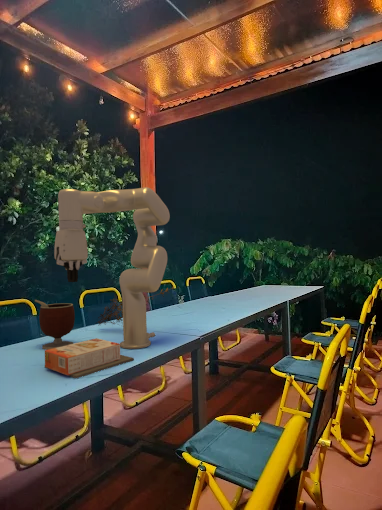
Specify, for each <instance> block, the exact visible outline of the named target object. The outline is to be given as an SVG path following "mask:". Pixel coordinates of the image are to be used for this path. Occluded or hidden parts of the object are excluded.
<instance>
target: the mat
mask: <svg viewBox="0 0 382 510" xmlns="http://www.w3.org/2000/svg"><path fill="white" fill-rule="evenodd" d="M132 361H135V359H134V357H131V356H127V355H123V354H120V360H116V361H113V362H110V363H106V364H103V365H100V366H97V367H93V368H90V369H87V370H83V371H80V372H77V373H74V374H70V375H66V376H67V377H68V376H69V377H71V378H74V379H76V378H77V379H79V377H80V378H83V377H86V376H88V375H89V376H90V375H93V374H95V372H96V373H98V371H99V372H101V370H102V371H104V369H105V370H108V369H111V368H113V367H116V366H117V367H118V366H120V365H124V364H127V363H130V362H132ZM126 362H127V363H126ZM123 363H124V364H123ZM119 364H120V365H119ZM44 368H45V369H49V370H51V371H53V372H57V373H59V374H62V375H64V374H63V373H60V372H58V371H55V370H52V369H50V368H47V367H45V366H44ZM82 376H83V377H82Z"/></svg>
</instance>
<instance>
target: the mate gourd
mask: <svg viewBox="0 0 382 510" xmlns="http://www.w3.org/2000/svg"><path fill="white" fill-rule="evenodd" d="M34 302H35V303H38V304H40V305H41V306H40V307H39V313H38V317H39V327H40V330H41V332H42V333H43V334H44V335H45V336H48V337H50V338H53V339H54V340H53V342H48V343H45V344H43V345H41V346H42V347H41V349H42V350H44V351H45V350H49V349H53V348H57V347H62V346H66V345H70V344H74V342H73V341H70V340H69V341H68V340H63V339H62V338H63V337H64V336H66V335H69V334H70V333H71V331H72V330H73V329H74V326H75V321H76V320H75V317H76V316H75V313H76V312H75V308H74V304H73V303H65V302H63V303H62V302H61V303H51V304H46V303H45V302H44V301H40V300H39V299H38V300H37V299H34Z"/></svg>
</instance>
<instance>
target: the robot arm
mask: <svg viewBox="0 0 382 510" xmlns="http://www.w3.org/2000/svg"><path fill="white" fill-rule="evenodd" d="M57 199H58V230H56V233H55V241H54V253H53V254H54V259H55V260H56V265H59V266H63V267H64V268H65V270H66V276H67V282H68V283H77V282H78V279H79V270H80V267H82V266H83V265H84V264H87V263H88V260H87V259H88V255H89V254H88V253H89V252H88V241H87V235H86V232H85V230H84V229H85V228H86V223H84V221H83V220H84V217H83V216H84V215H87V214H88V215H90V214H99V213H100V214H102V213H103V214H105V213H106V214H107V213H109V214H110V213H118V212H126V211H134V212H133V215H132V220H133V222H134V225H135V227H136V228H135V229H136V231H137V239H136V242H135V244H134V248H133V250H132V253H131V257H130V263H131V265H132V267H134V268H128V269H125V270H124V271H122V272H121V273H120V276H119V279H118V281H119V286H120V291H121V300H122V299H123V301H122V302H123V307H122V309H123V313H122V314H123V315H122V316H123V317H122V320H123V321H122V327H123V330H122V331H123V335H122V336H123V340H122V341H121V342H119V344H120V348H122V349H127V350H130V349H131V350H132V349H134V350H137V349H142V348H147V347H150V346H151V344H152V343H151V342H152V341H151V340H149V339H151V338H154V337H155V336H156V333H155V332H148V328H147V326H148V325H147V306H146V304H147V302H146V299H145V298H144V296H145V295H144V294H143V293H155V292H157V291H158V290H159V288H160V286H161V284H162V281H163V278H164V275H165V271H166V268H167V264H168V253H167V251H166V249H165V248H164V247H163V246H161V245H157V242H158V239H157V235H156V233H155V231H154V229H153V228H152V227H154V226H164V225H166V224H168V222H170V218H171V217H170V216H171V215H170V211H169V209H168V206H167V205H166V204H165V203H164V201H163V200H162V199H161V197H160V196H159V195H158V194H157V193H156V192H155V190H153V189H152V188H151V187H147V186H146V187H145V186H144V187H139V188H128V189H108V190H104V191H98V192H96V191H92V190H91V191H89V190H88V191H83V190H79V189H74V188H65V189H64V188H63V189H60V190H59V192H58V198H57ZM143 295H144V296H143Z"/></svg>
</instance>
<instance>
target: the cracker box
mask: <svg viewBox="0 0 382 510" xmlns="http://www.w3.org/2000/svg"><path fill="white" fill-rule="evenodd" d="M120 355H121V347H120V342H114V341H109V340H107V339H103V338H102V339H101V338H92V339H88V340H84V341H79V342H75V343H74V342H73V344H70V345H66V346H62V347H57V348H53V349H49V350H44V368H45V367H47V368H46V369H48V368H50V369H49V370H51V369H52V370H51V371H53V370H55V371H54V372H56V371H58V372H57V373H59V372H60V373H59V374H62V373H63V374H62V375H65V376H67V375H70V374H74V373H77V372H80V371H83V370H87V369H90V368H93V367H97V366H100V365H103V364H106V363H110V362H113V361H116V360H120Z"/></svg>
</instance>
